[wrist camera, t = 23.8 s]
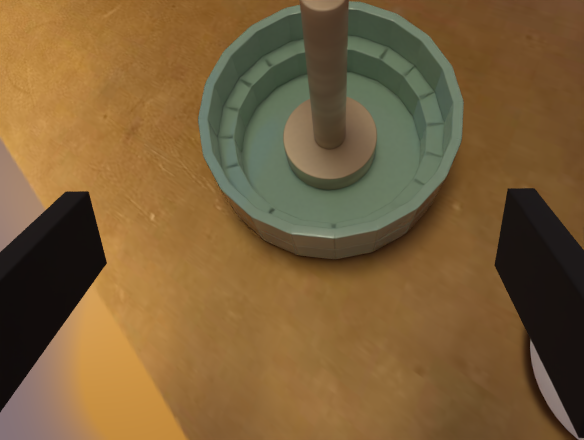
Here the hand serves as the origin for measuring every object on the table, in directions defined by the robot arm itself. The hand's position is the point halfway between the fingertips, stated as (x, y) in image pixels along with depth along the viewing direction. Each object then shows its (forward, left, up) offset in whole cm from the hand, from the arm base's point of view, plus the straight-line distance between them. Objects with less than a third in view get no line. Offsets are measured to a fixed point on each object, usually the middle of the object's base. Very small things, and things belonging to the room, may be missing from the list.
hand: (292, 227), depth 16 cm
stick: (+6, +8, -16) cm, 19 cm away
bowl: (+6, +8, -17) cm, 20 cm away
